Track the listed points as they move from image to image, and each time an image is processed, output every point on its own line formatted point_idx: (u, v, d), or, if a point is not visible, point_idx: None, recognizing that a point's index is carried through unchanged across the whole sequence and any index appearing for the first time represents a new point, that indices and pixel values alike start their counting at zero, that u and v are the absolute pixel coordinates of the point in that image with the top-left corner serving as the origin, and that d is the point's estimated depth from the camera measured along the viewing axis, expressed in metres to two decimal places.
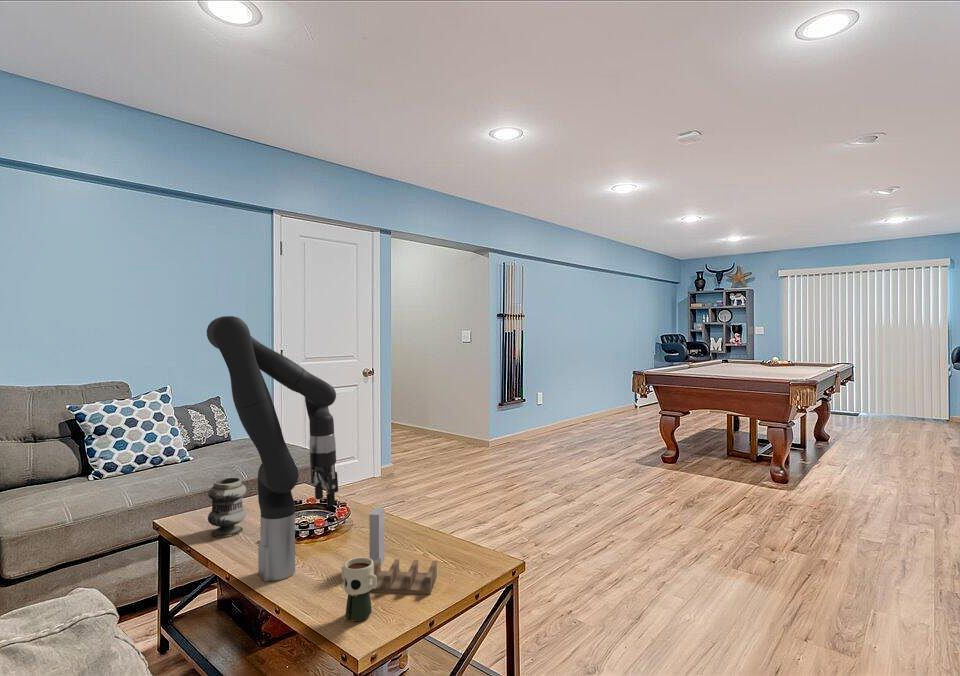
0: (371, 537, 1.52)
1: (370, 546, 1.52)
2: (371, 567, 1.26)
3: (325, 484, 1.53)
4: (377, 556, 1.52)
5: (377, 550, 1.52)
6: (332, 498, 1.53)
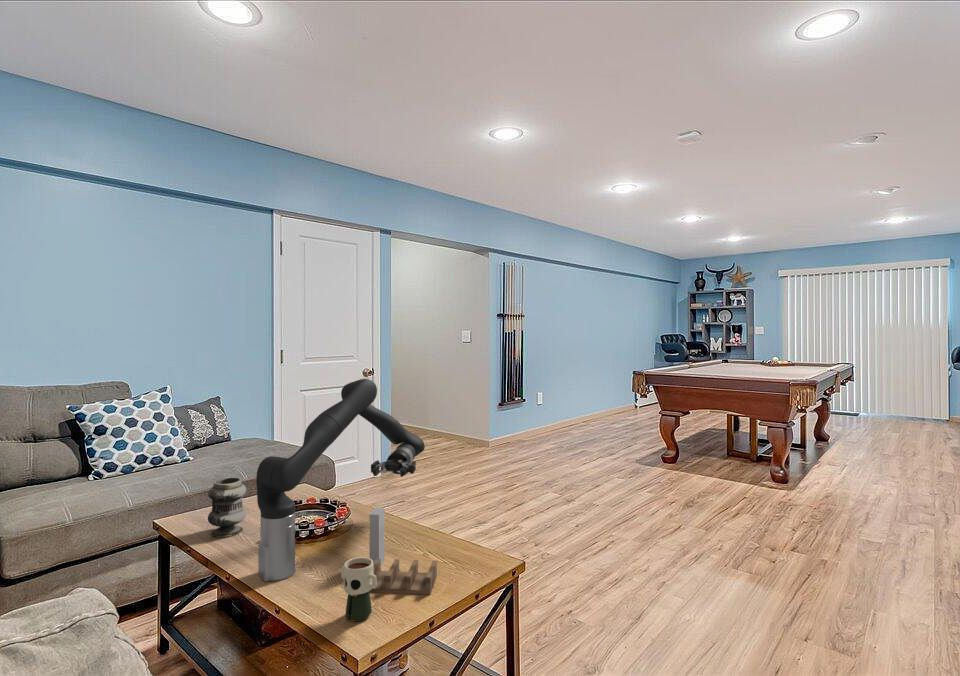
0: (371, 537, 1.52)
1: (370, 546, 1.52)
2: (371, 567, 1.26)
3: None
4: (377, 556, 1.52)
5: (377, 550, 1.52)
6: (406, 471, 1.68)
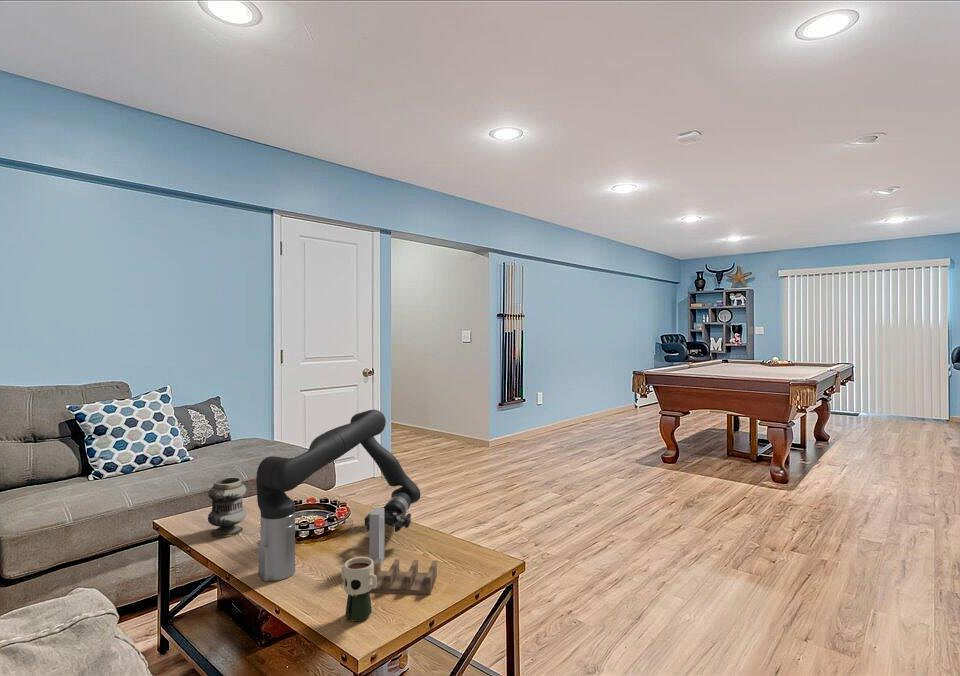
0: (371, 537, 1.52)
1: (370, 546, 1.52)
2: (371, 567, 1.26)
3: None
4: (377, 556, 1.52)
5: (377, 550, 1.52)
6: (401, 526, 1.63)
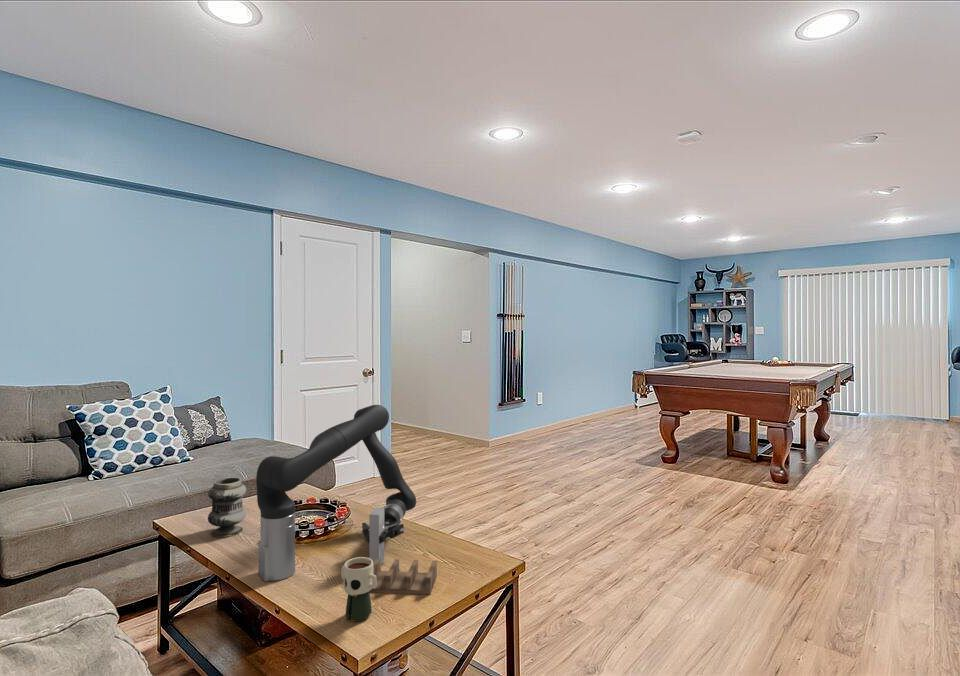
0: (371, 537, 1.52)
1: (370, 546, 1.52)
2: (371, 567, 1.26)
3: (388, 527, 1.59)
4: (377, 556, 1.52)
5: (377, 550, 1.52)
6: (385, 537, 1.55)
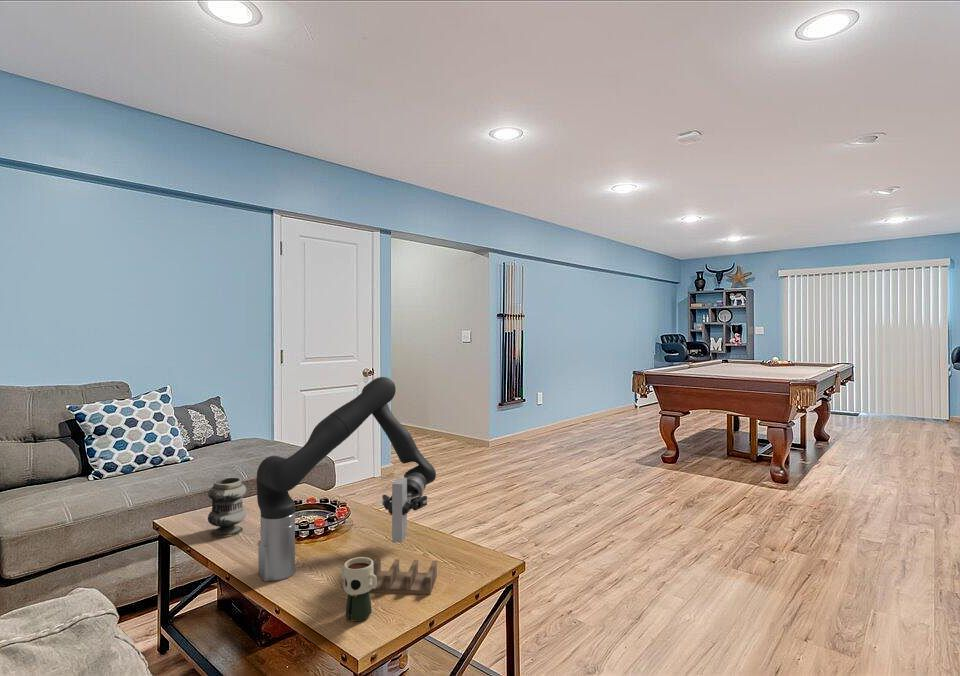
0: (394, 508, 1.42)
1: (392, 518, 1.42)
2: (371, 567, 1.26)
3: (411, 499, 1.49)
4: (400, 528, 1.42)
5: (400, 522, 1.42)
6: (408, 508, 1.45)
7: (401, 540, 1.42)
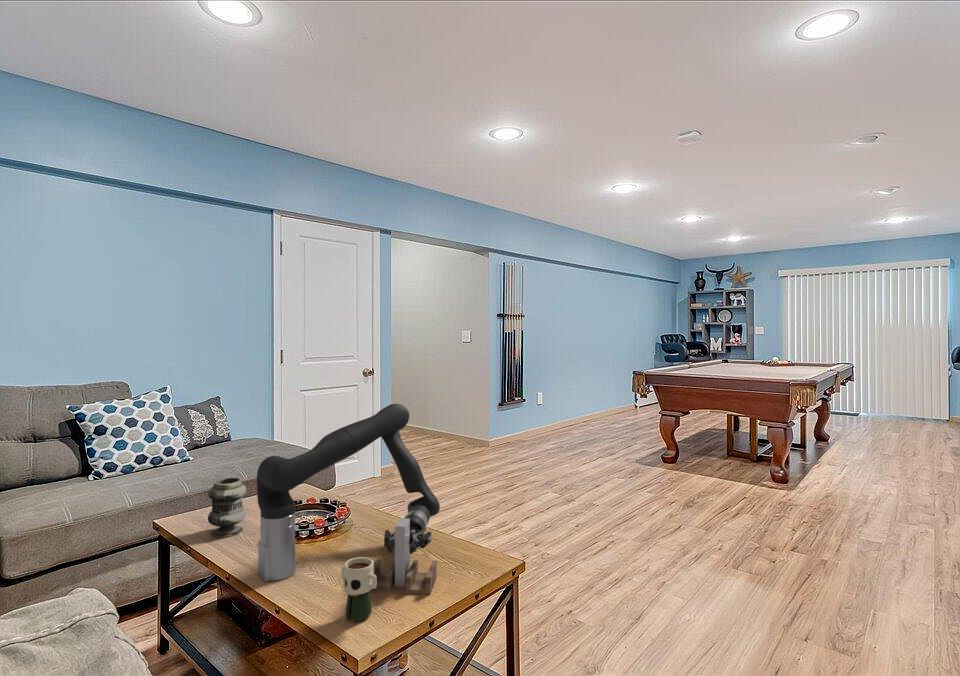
0: (397, 551, 1.41)
1: (395, 560, 1.41)
2: (371, 567, 1.26)
3: None
4: (403, 571, 1.41)
5: (403, 565, 1.40)
6: (416, 547, 1.43)
7: (404, 583, 1.41)
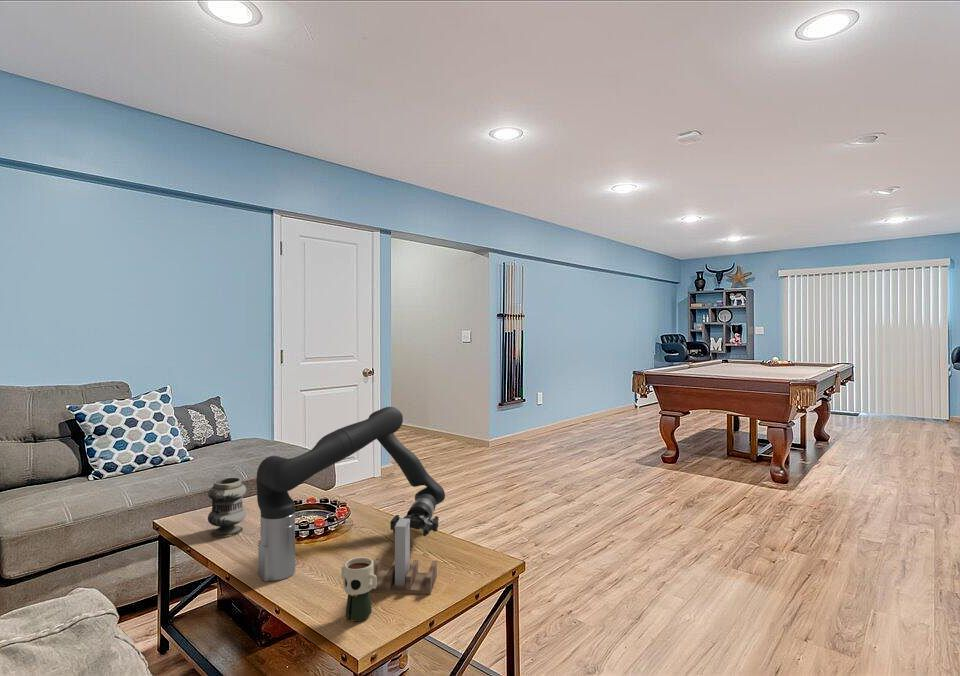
0: (397, 551, 1.41)
1: (395, 560, 1.41)
2: (371, 567, 1.26)
3: None
4: (403, 571, 1.41)
5: (403, 565, 1.40)
6: (429, 530, 1.55)
7: (404, 583, 1.41)
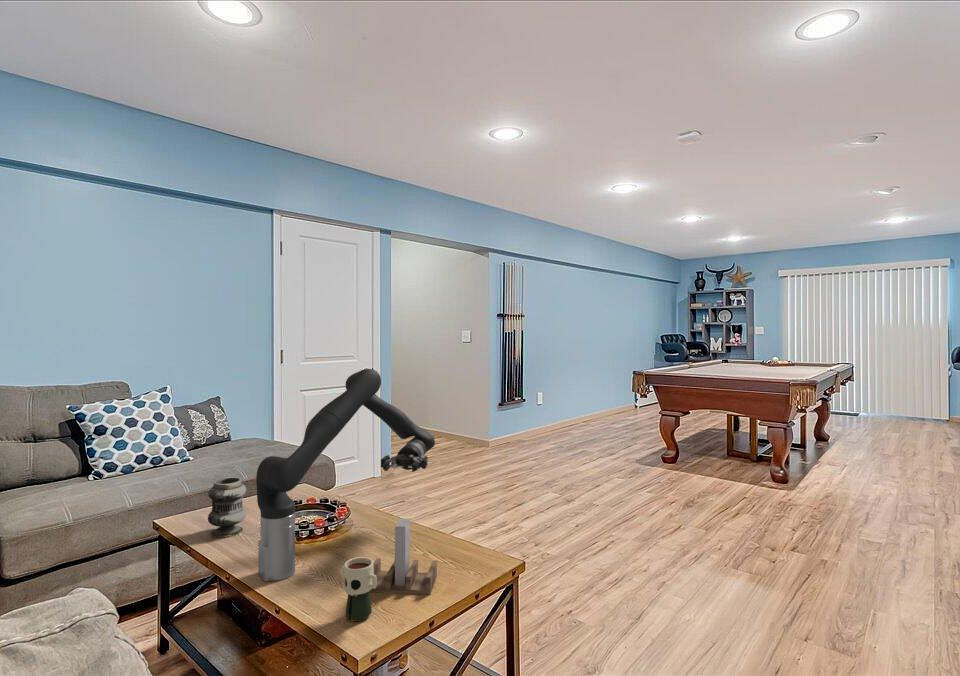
0: (397, 551, 1.41)
1: (395, 560, 1.41)
2: (371, 567, 1.26)
3: None
4: (403, 571, 1.41)
5: (403, 565, 1.40)
6: (418, 466, 1.60)
7: (404, 583, 1.41)
